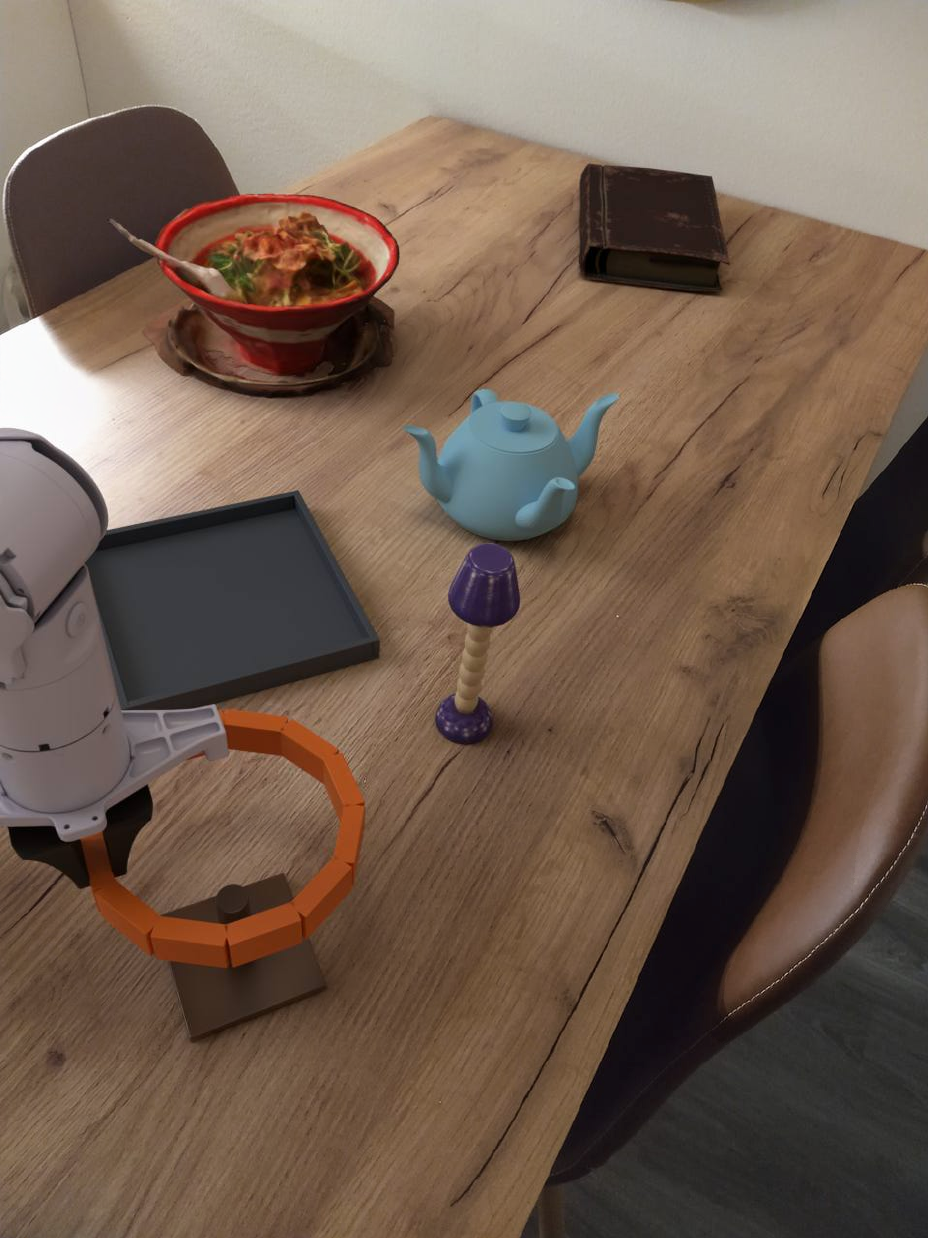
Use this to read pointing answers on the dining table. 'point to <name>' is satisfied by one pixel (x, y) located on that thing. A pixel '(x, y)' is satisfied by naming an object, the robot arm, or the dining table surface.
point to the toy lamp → (477, 636)
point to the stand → (249, 987)
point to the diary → (650, 228)
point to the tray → (224, 604)
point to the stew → (275, 291)
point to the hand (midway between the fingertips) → (99, 866)
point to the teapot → (508, 467)
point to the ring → (270, 926)
